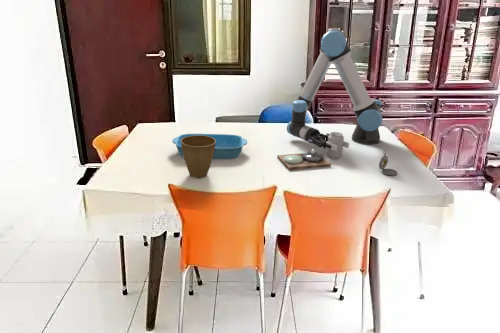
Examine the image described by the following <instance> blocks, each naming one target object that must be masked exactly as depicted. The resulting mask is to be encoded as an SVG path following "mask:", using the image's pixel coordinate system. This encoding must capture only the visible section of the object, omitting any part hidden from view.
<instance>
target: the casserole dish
mask: <svg viewBox="0 0 500 333" xmlns="http://www.w3.org/2000/svg"><path fill="white" fill-rule="evenodd" d="M194 135H203V136H209V137H212V138H214V139H215V140H216V144H215V150H214V155H213V159H212V160H232V159H233V160H234V159H236V158H238V157H239V156H240V155H241V153H242V151H243V147H244V146H246V145H247V144H248V140H247V139H245V138H244V137H242V136H241V135H238V134H227V133H226V134H225V133H223V134H221V133H184V134H183V133H182V134H181V135H178V136H176V137H174V138H173V139H172V143H173V144H175V146H176V149H177V153H179V155H180V156H181V157H183V158H184V156H183V152H182V146H181V139H182V138H184V137H187V136H194Z"/></svg>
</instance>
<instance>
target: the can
mask: <svg viewBox="0 0 500 333" xmlns="http://www.w3.org/2000/svg"><path fill="white" fill-rule="evenodd" d="M329 134H330V135H329V136H328V142H329V143H332V144H334V145H337V146H338V147H337V151H334V150H331V149H329V148H326V156H327V157H328V158H330V159H333V160H337V159H340V158H341V157H342V156H343V148H344V147H343V141H345V138H344V136H343V133H341V132H338V131H333V132H330V133H329Z"/></svg>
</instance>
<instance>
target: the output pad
mask: <svg viewBox="0 0 500 333" xmlns="http://www.w3.org/2000/svg"><path fill="white" fill-rule="evenodd" d="M286 155H287V154H286ZM283 160H284V162H286V163H290V164H299V163H301V162H302V160H303V159H302V157H300V156H297V155H287V156H284V158H283Z"/></svg>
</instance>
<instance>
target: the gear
mask: <svg viewBox="0 0 500 333" xmlns="http://www.w3.org/2000/svg"><path fill="white" fill-rule="evenodd" d="M317 152H318V151H316V150H315V149H314V148H312V149H311V150H310V151H307V152H302V159H303V160H305V161H307V162H315V163H318V162H319V161H323V158H325V157H324V154H320V153H319V154H318V153H317Z"/></svg>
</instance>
